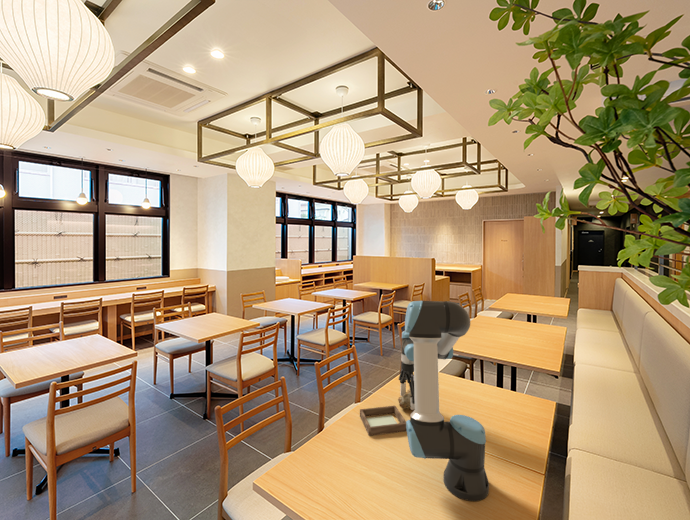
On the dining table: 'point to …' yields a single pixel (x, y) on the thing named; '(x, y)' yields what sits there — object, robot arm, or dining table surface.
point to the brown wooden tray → (383, 428)
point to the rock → (405, 400)
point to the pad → (381, 420)
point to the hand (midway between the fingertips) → (407, 402)
